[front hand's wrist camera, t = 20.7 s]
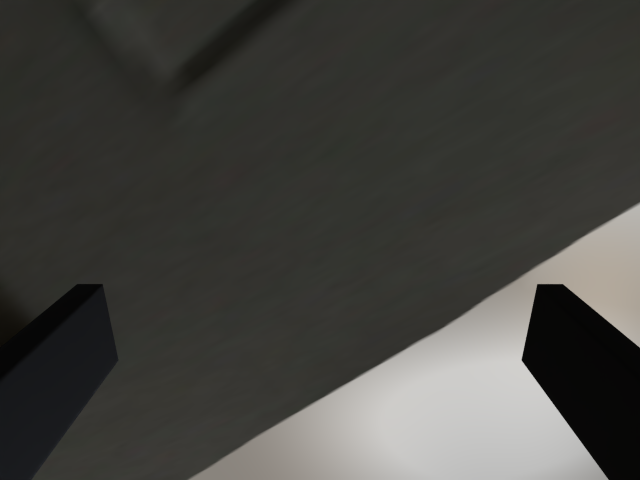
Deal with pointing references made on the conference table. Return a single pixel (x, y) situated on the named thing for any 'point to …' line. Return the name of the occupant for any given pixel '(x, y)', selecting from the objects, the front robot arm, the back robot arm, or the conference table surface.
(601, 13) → the conference table surface
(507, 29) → the conference table surface
